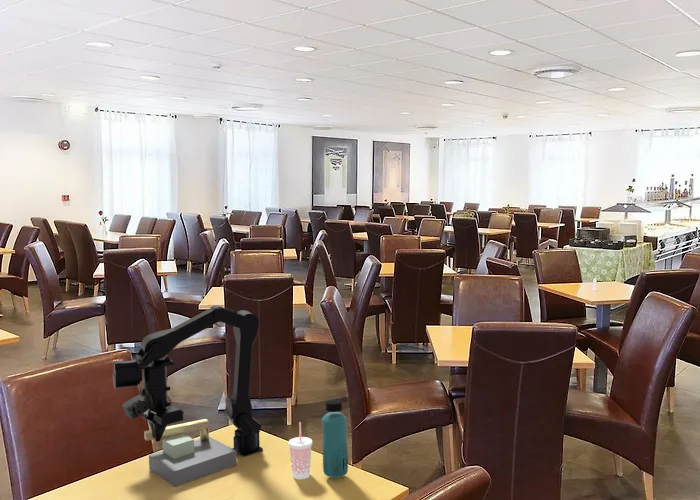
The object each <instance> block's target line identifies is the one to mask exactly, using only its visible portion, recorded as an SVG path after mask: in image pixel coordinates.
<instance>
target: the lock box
mask: <svg viewBox="0 0 700 500" xmlns="http://www.w3.org/2000/svg"><path fill="white" fill-rule="evenodd" d="M232 448H233V447H230V446H228V445H226V444H225V443H223V442H220V441H219V440H217V439H215V438H213V437H211V436H209V440H208V441H200V438H199V439H195V440H194V452H193V453H190V454H187V455H184V456H181V457H178V458H175V459H173V458H171V457H170V456H168V455H167V454H165V453H163V450H160V451H157V452H154V453H151V454H148V470H149V471H151V472H152V473H154V474H155V475H157V476H158V477H159V478H160V479H162V480H164V481H166V482H167V483H168V484H170V485H171V486H172V487H178V486H182V485H184V484H187V483H190V482H193V481H195V480H198V479H201V478H205V477H207V476H209V475H213V474H216V473H218V472H221V471H223V470H227V469H229V468H232V467H235V466H237V453H236V450H234V449H232Z"/></svg>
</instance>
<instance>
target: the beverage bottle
mask: <svg viewBox="0 0 700 500" xmlns="http://www.w3.org/2000/svg"><path fill="white" fill-rule="evenodd" d="M342 405H343V404H342V401H341V400H339V399H329V400H327V401H326V402H325V411H327V413H326V414H324V416H323V417H322V419H321V425H322V426H321V427H322V430H321V431H322V447H321V448H322V456H321V457H322V470H323V474H324V475H325V476H327V477H329V478H341V477H344V476H346V475H347V474H348V470H349V458H348V452H349V451H348V431H347V429H348V427H347V417H346V415H345V414H343V413H342V412H341V411H342V410H343V406H342Z"/></svg>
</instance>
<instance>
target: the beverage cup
mask: <svg viewBox="0 0 700 500" xmlns="http://www.w3.org/2000/svg"><path fill="white" fill-rule="evenodd" d="M298 429H299V431H298V434H299V436H297V437H293V438H290V439H289V440H288V447H289V452H290V453H289V454H290V463H291V476H292V478H294V479H296V480H305V479H308V478H309V477H310V476H311V465H312V464H311V463H312V461H311V460H312V446H313V440H312V438H310V437H306V436H302V422H301V421H299V422H298Z"/></svg>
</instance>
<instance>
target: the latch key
mask: <svg viewBox="0 0 700 500" xmlns="http://www.w3.org/2000/svg"><path fill="white" fill-rule="evenodd" d="M209 426H210V423H209V420H208V419H207V418H204V419H198V420H193V421H188V422H182V423H179V424H174V425H169V426H168V425H167V426H166V429H165V431H164V433H163V435H162V438H163V439H164V438H169V437H172V436H176V435H179V434H185V433H191V432H192V433H193V432H196V431H199V439H200V441H208V440H209V437H210V427H209ZM143 432H144V433H143V434H144V435H143V437H144V440H145V441H146V442H148V441H153V440H155V438H154V436H153V433H152V430H151V429H148V430H143ZM162 438H161V439H162Z"/></svg>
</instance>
